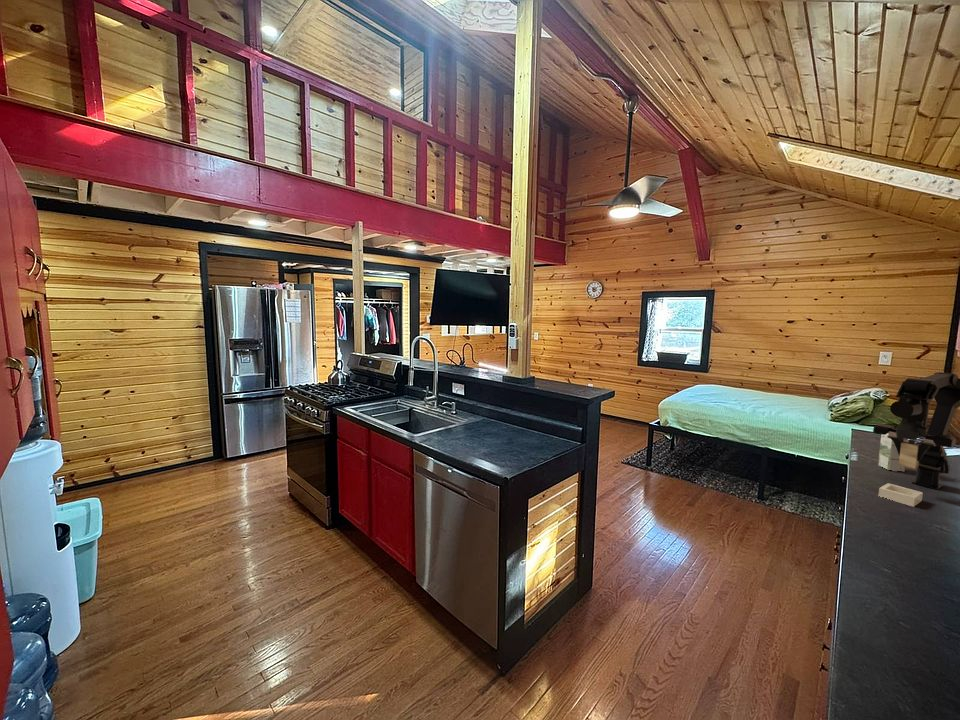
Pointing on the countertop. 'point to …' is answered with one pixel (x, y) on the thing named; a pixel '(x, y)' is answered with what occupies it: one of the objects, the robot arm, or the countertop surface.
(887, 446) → the syrup box
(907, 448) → the wooden peg
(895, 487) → the cream square ring
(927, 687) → the countertop surface
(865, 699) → the countertop surface
